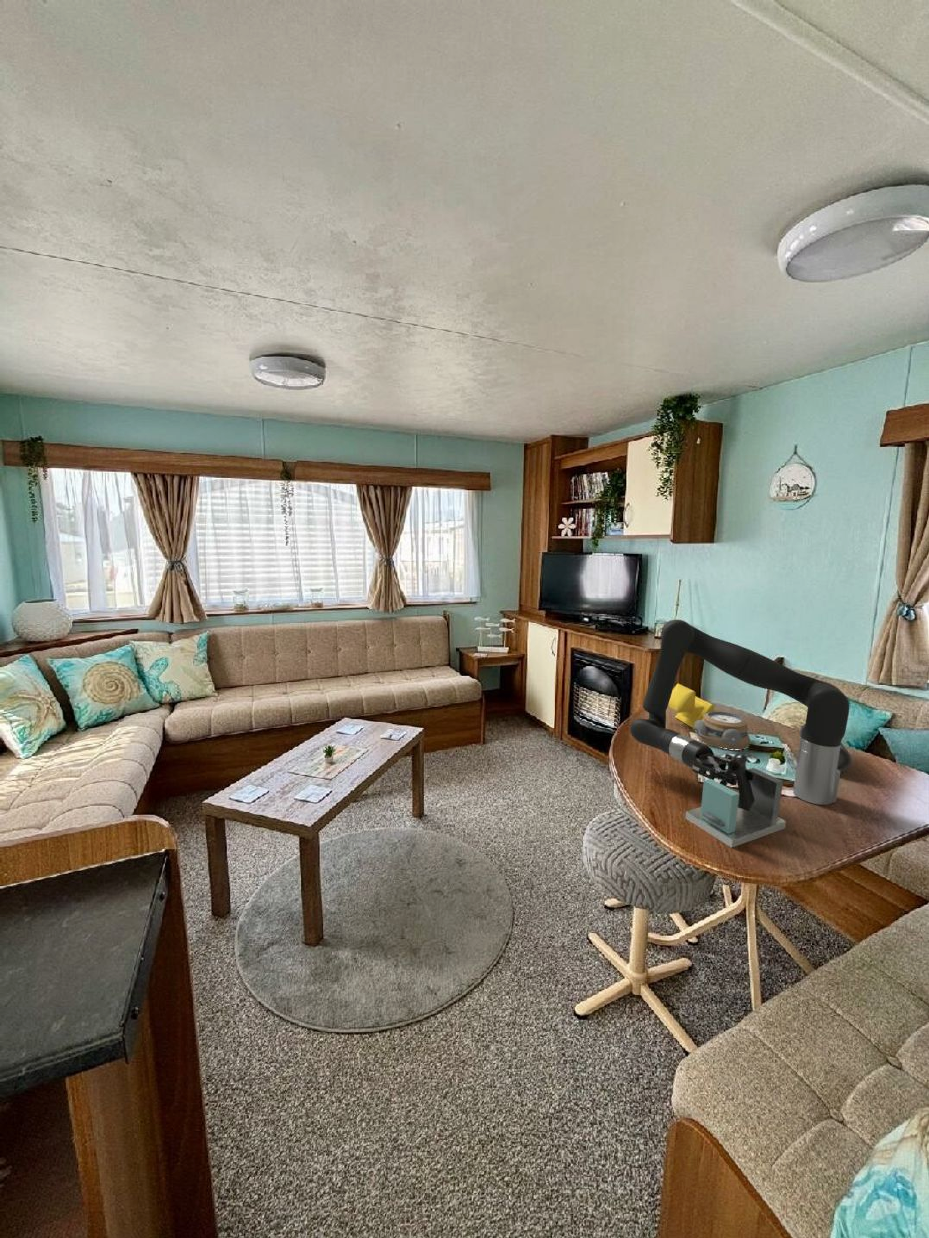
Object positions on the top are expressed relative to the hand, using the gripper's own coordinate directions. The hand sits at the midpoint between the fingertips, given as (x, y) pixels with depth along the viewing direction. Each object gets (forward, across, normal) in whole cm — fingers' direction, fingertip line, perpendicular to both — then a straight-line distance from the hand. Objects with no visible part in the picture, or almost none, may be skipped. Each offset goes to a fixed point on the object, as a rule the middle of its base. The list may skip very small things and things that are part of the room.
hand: (744, 779), depth 125 cm
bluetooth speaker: (-15, +61, +13) cm, 64 cm away
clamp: (-55, +50, +14) cm, 76 cm away
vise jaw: (0, -9, +11) cm, 14 cm away
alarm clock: (-38, +41, +13) cm, 58 cm away
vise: (0, 0, +13) cm, 13 cm away
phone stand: (-2, 0, +7) cm, 8 cm away
